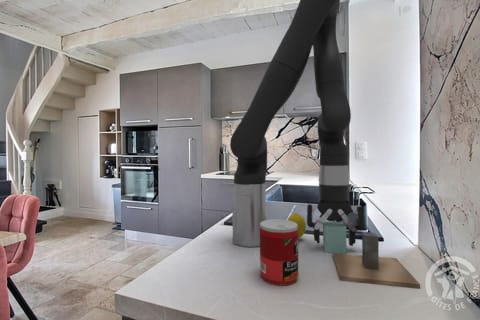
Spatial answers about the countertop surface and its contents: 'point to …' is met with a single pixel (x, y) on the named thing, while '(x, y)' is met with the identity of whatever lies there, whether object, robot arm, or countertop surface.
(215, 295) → the countertop surface
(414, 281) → the stand
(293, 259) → the canned food
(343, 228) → the mint foam cube
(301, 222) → the lemon
